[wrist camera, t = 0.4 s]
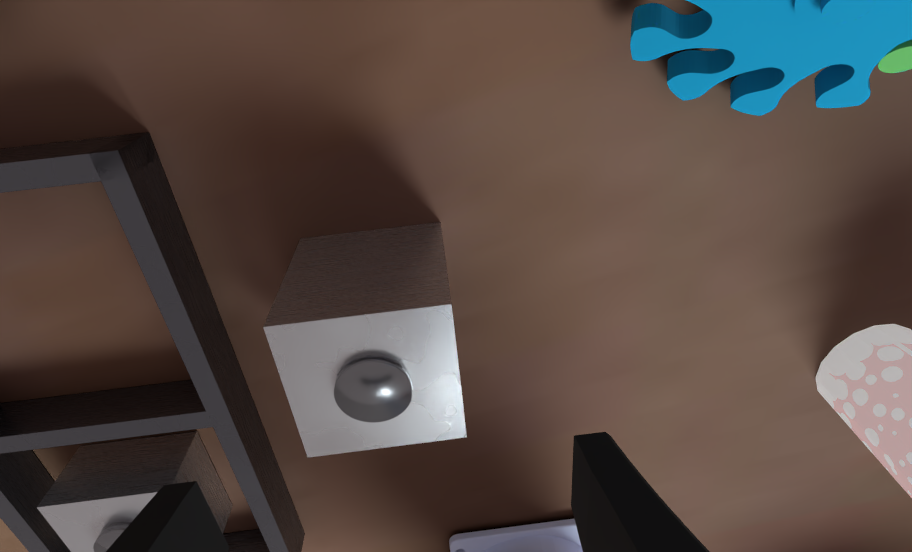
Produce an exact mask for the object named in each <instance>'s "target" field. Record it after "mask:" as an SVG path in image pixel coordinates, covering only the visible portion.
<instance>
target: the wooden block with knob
mask: <svg viewBox="0 0 912 552" xmlns="http://www.w3.org/2000/svg"><path fill="white" fill-rule="evenodd" d="M193 481H197V483H198V485H199V487H200V489H201V491H202V493H203V495H204V497H205V499H206V501H207V503H208V505H209V507H210V509H211V511H212V513H213V515H214V517H215V519H216V522H217V524H218V526H219V528H220V530H221V532H222V534H223V532H224V529H225V526H226V523H227V520H228V517H229V514H230V511H231V508H232V503H231V501H230V499H229V497H228V495H227V493H226V491H225V489H224V487H223V485H222V483H221V481H220V478H219V476H218V474H217V472H216V470H215V468H214V466H213V464H212V462H211V460H210V458H209V456H208V453H207V451H206V449H205V447H204V445H203V443H202V441H201V439H200V437H199V435H198V433H197V431H196V432H188V433H180V434H172V435H164V436H156V437H148V438H140V439H132V440H124V441H116V442H108V443H100V444H92V445H84V446H80V447H79V448H78V450H77V451H76V452H75V454H74V455H73V457H72V458H71V460H70V461H69V462H68V464H67V465H66V467H65V468H64V469H63V471H62V472H61V474H60V475H59V477H58V478H57V479H56V481H55V482H54V484H53V485H52V486H51V488H50V489H49V491H48V492H47V494H46V495H45V496H44V498H43V499H42V501H41V502H40V503H39V505H38V506H37V509H38V510H39V511H40V512H41V514H42V515H43V516H44V518H45V519H46V520H47V521H48V523H49V524H50V525H51V527H52V528H53V529H54V530H55V532H56V533H57V534H58V536H59V537H60V538H61V539H62V541H63V542H64V543H65V545H66V546H67V547H68V548H69V550H70V551H71V552H106V551H107V550H108V548H109V547H110V546H111V545H112V544H113V543H114V542H115V540H116V539H117V538H118V537H119V536H120V535H121V534H122V532H123V531H124V530H125V529H126V528H127V527H128V525H129V524H130V523H131V522H132V521H133V520H134V519H135V517H136V516H137V515H138V514H139V513H140V512H141V511H142V509H143V508H144V507H145V506H146V505H147V504H148V502H149V501H150V500H151V499H152V498H153V497H154V496H155V495H156V493H157V492H158V491H159V490H160V489H161V488H162V487H163V486H164V485H168V484H176V483H184V482H193Z"/></svg>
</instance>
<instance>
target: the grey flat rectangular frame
mask: <svg viewBox="0 0 912 552" xmlns="http://www.w3.org/2000/svg"><path fill="white" fill-rule="evenodd" d="M98 181H101V182H102V184H103V186H104V188H105V191H106V193H107V195H108V197H109V199H110V202H111V204H112V206H113V208H114V210H115V213H116V215H117V217H118V219H119V221H120V224H121V226H122V228H123V230H124V232H125V235H126V237H127V239H128V241H129V243H130V246H131V248H132V250H133V252H134V254H135V257H136V259H137V261H138V263H139V265H140V267H141V270H142V272H143V274H144V276H145V278H146V281H147V283H148V285H149V287H150V289H151V292H152V294H153V296H154V298H155V300H156V303H157V305H158V307H159V309H160V311H161V314H162V316H163V318H164V320H165V322H166V325H167V327H168V329H169V331H170V333H171V336H172V338H173V340H174V342H175V344H176V347H177V349H178V351H179V353H180V355H181V357H182V360H183V362H184V364H185V366H186V368H187V371H188V373H189V375H190V377H191V379H192V380H186V381H178V382H170V383H162V384H154V385H146V386H138V387H130V388H122V389H113V390H105V391H97V392H89V393H81V394H73V395H65V396H57V397H49V398H41V399H32V400H24V401H16V402H8V403H0V518H1V519H2V520H3V521H4V523H5V524H6V525H7V526H8V527H9V528H10V530H11V531H12V532H13V533H14V534H15V536H16V537H17V538H18V539H19V540H20V541H21V543H22V544H23V545H24V546H25V547H26V549H27V550H28V551H29V552H71V551H70V550H69V548H68V547H67V546H66V545H65V543H64V542H63V541H62V539H61V538H60V537H59V536H58V534H57V533H56V532H55V530H54V529H53V528H52V527H51V525H50V524H49V523H48V521H47V520H46V519H45V518H44V516H43V515H42V514H41V512H40V511H39V510H38V509H37V506H38V505H39V503H40V502H41V501H42V499H43V498H44V496H45V495H46V494H47V492H48V491H49V489H50V488H51V486H52V485H53V484H54V480H53V479H52V478H51V476H50V475H49V473H48V472H47V471H46V469H45V468H44V467H43V465H42V464H41V462H40V461H39V460H38V458H37V457H36V455H35V454H34V453H33V451H32V450H33V449H41V448H49V447H57V446H65V445H73V444H81V443H89V442H97V441H105V440H113V439H121V438H129V437H137V436H144V435H152V434H160V433H168V432H176V431H184V430H192V429H200V428H208V427H213V428H214V430H215V432H216V434H217V437H218V439H219V441H220V443H221V445H222V448H223V450H224V452H225V454H226V456H227V458H228V461H229V463H230V465H231V467H232V469H233V472H234V474H235V476H236V478H237V480H238V483H239V485H240V487H241V489H242V491H243V494H244V496H245V498H246V500H247V502H248V505H249V507H250V509H251V511H252V513H253V516H254V518H255V520H256V522H257V524H258V527H259V529H258V530H250V531H242V532H235V533H227V534H223V536H224V538H225V540H226V542H227V544H228V546H229V551H228V552H301V551H302V545H303V540H304V535H305V533H304V531H303V528H302V525H301V523H300V520H299V518H298V515H297V513H296V510H295V507H294V505H293V502H292V500H291V497H290V495H289V492H288V489H287V487H286V484H285V482H284V479H283V477H282V474H281V471H280V469H279V466H278V464H277V461H276V459H275V456H274V453H273V451H272V448H271V446H270V443H269V440H268V438H267V435H266V433H265V430H264V428H263V425H262V422H261V420H260V417H259V415H258V412H257V410H256V407H255V404H254V402H253V399H252V397H251V394H250V392H249V389H248V386H247V384H246V381H245V379H244V376H243V373H242V371H241V368H240V366H239V363H238V361H237V358H236V355H235V353H234V350H233V348H232V345H231V343H230V340H229V337H228V335H227V332H226V330H225V327H224V325H223V322H222V319H221V317H220V314H219V312H218V309H217V307H216V304H215V301H214V299H213V296H212V294H211V291H210V288H209V286H208V283H207V281H206V278H205V276H204V273H203V270H202V268H201V265H200V263H199V260H198V258H197V255H196V252H195V250H194V247H193V245H192V242H191V240H190V237H189V234H188V232H187V229H186V227H185V224H184V221H183V219H182V216H181V214H180V211H179V209H178V206H177V203H176V201H175V198H174V196H173V193H172V191H171V188H170V185H169V183H168V180H167V178H166V175H165V173H164V170H163V167H162V165H161V162H160V160H159V157H158V154H157V152H156V149H155V147H154V144H153V142H152V139H151V136H150V134H149V132H146V133H138V134H129V135H120V136H111V137H102V138H93V139H84V140H75V141H66V142H58V143H49V144H40V145H31V146H22V147H13V148H4V149H0V193H2V192H11V191H20V190H28V189H37V188H46V187H54V186H63V185H72V184H81V183H89V182H98Z"/></svg>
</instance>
